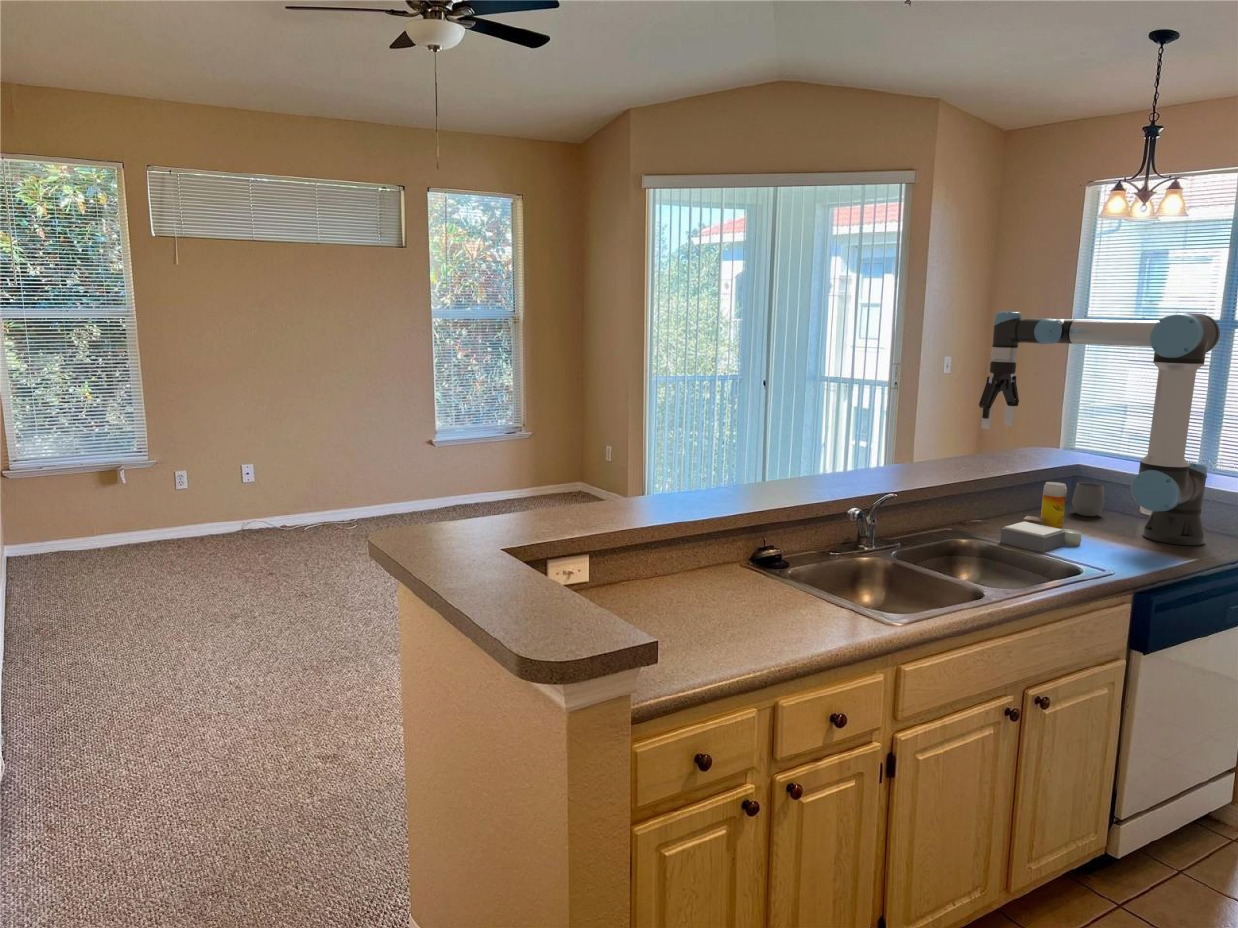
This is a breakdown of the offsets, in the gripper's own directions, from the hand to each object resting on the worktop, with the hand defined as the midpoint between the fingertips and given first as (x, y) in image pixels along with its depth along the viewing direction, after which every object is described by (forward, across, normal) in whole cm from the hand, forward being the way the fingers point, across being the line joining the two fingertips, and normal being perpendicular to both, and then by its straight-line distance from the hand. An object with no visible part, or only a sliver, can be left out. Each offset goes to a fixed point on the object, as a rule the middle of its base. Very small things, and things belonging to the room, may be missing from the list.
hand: (997, 427), depth 271 cm
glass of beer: (+28, +11, +25) cm, 39 cm away
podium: (+28, +28, +28) cm, 48 cm away
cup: (+28, -24, +20) cm, 42 cm away
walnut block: (+28, +17, +23) cm, 40 cm away
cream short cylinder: (+28, +18, +34) cm, 47 cm away
